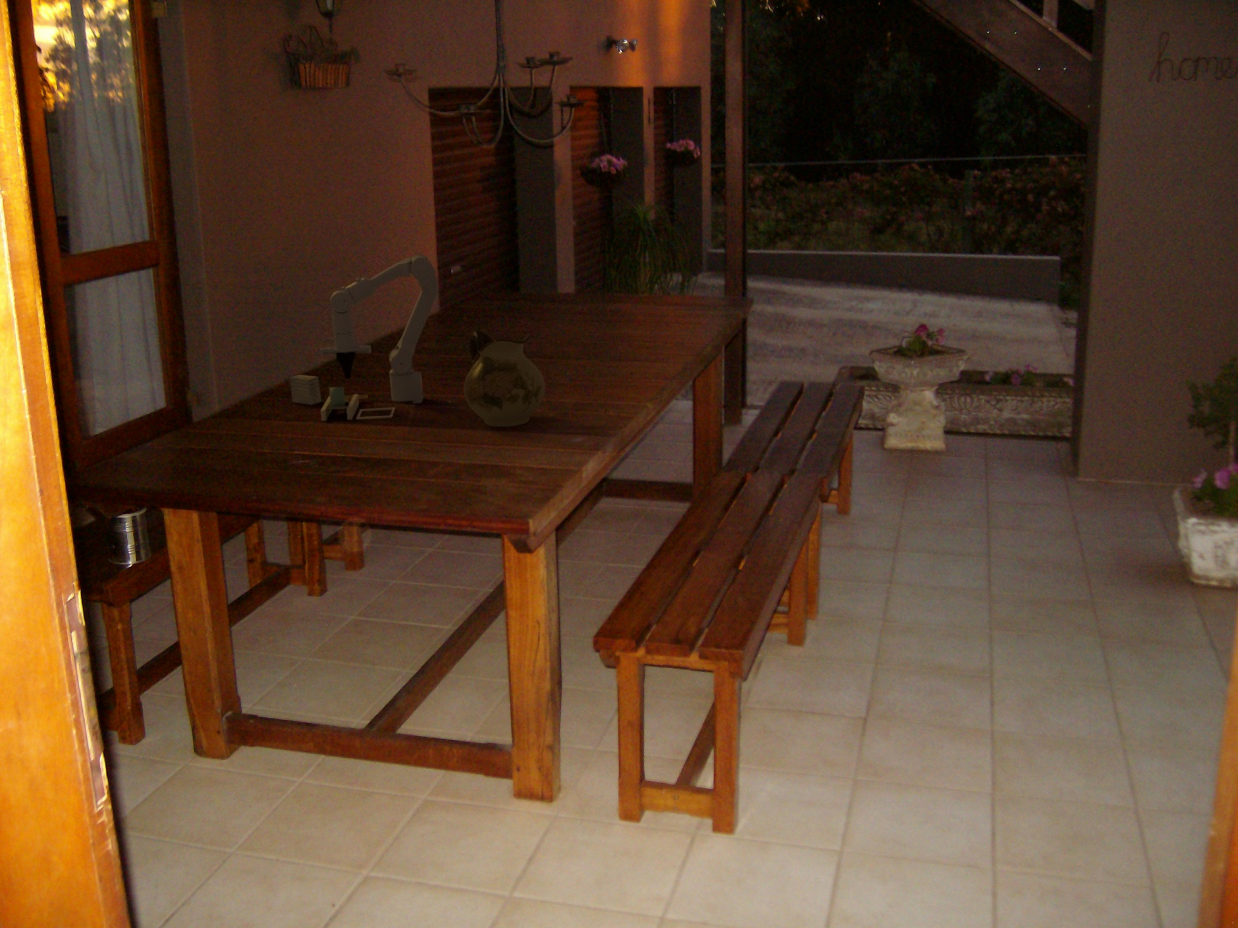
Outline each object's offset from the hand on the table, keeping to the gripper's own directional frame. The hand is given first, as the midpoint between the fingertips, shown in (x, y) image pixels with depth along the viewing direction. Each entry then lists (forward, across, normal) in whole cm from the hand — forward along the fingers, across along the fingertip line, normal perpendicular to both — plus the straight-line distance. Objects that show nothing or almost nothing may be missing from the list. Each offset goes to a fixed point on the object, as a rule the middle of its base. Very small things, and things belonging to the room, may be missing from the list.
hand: (348, 377), depth 364 cm
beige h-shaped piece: (+9, +2, +11) cm, 14 cm away
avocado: (+5, +2, +15) cm, 16 cm away
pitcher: (+9, -45, +28) cm, 54 cm away
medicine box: (+9, +14, -4) cm, 17 cm away
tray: (+9, -9, +15) cm, 20 cm away
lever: (+7, 0, +9) cm, 11 cm away
